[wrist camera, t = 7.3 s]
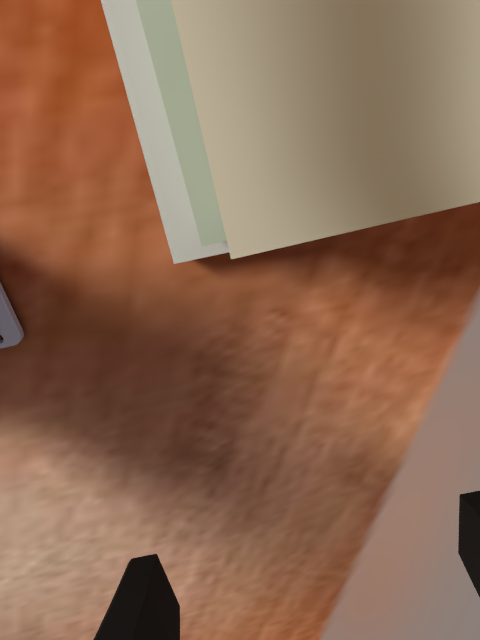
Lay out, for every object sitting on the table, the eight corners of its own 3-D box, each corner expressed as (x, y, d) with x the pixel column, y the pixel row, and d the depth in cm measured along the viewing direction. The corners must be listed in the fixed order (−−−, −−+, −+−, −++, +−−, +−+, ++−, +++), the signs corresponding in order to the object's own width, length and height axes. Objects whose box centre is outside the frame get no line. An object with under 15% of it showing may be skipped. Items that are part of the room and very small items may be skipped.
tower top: (203, 229, 15) (202, 246, 13) (142, -4, 12) (126, -33, 10) (394, 183, 15) (427, 193, 13) (378, -66, 12) (417, -111, 10)
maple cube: (221, 212, 12) (230, 259, 8) (175, 12, 10) (152, -82, 6) (386, 173, 12) (492, 199, 8) (373, -37, 10) (508, -170, 6)
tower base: (179, 246, 18) (174, 263, 16) (110, -9, 14) (91, -35, 12) (386, 202, 18) (412, 213, 15) (373, -70, 14) (404, -109, 12)
